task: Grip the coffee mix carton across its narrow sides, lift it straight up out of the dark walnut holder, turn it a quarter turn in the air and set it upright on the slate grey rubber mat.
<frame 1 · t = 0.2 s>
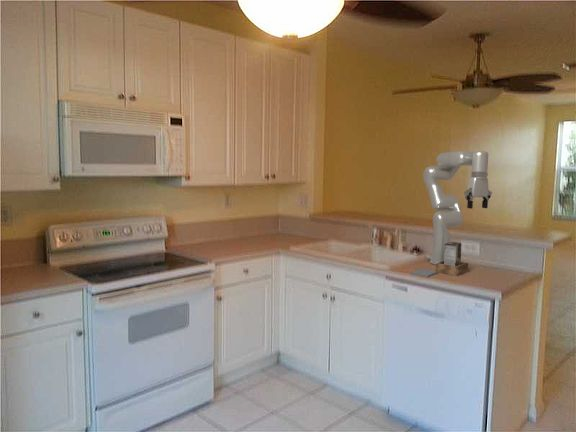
hand: (477, 208, 233), 36 cm above the worktop, tool pointing down, fingers open, 9 cm apart
coffee box: (451, 272, 246), resting in holder
holder: (451, 272, 246), on the worktop
mat: (424, 273, 241), on the worktop
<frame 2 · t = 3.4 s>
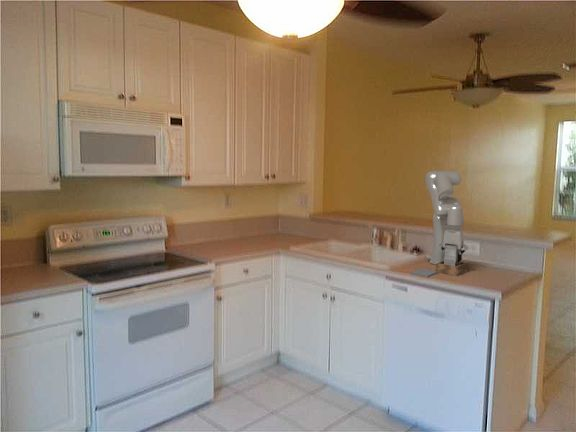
hand: (452, 260, 245), 7 cm above the worktop, tool pointing down, fingers closed on coffee box, 6 cm apart
coffee box: (451, 272, 246), resting in holder, touching gripper
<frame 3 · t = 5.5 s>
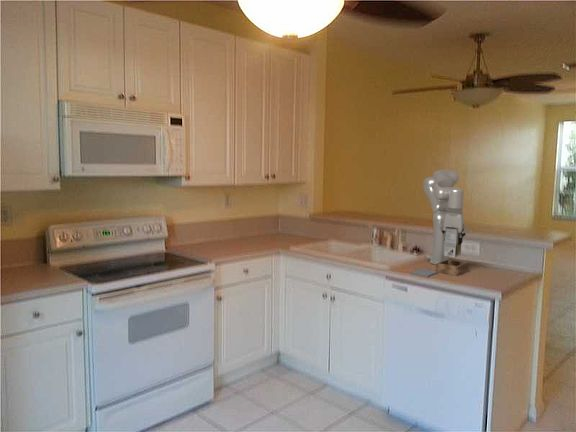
hand: (453, 243, 245), 16 cm above the worktop, tool pointing down, fingers closed on coffee box, 6 cm apart
coffee box: (452, 255, 246), point 9 cm above the worktop, touching gripper
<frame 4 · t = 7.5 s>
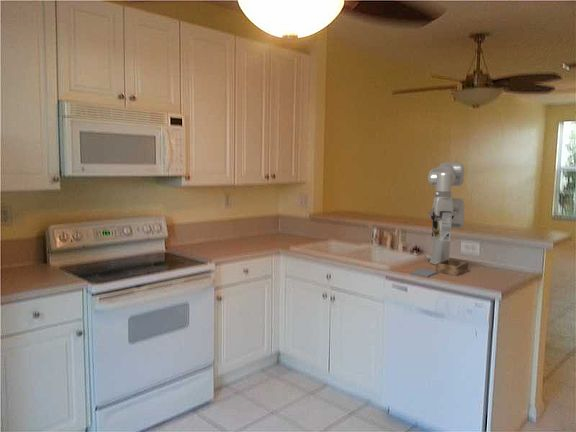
hand: (441, 227, 241), 25 cm above the worktop, tool pointing down, fingers closed on coffee box, 6 cm apart
coffee box: (440, 240, 241), point 18 cm above the worktop, touching gripper
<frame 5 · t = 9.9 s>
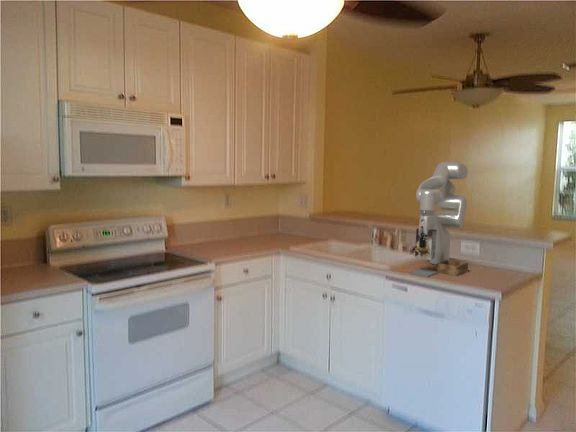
hand: (425, 246, 239), 15 cm above the worktop, tool pointing down, fingers closed on coffee box, 6 cm apart
coffee box: (424, 258, 240), point 8 cm above the worktop, touching gripper
when the fingers open (9 cm above the worktop, at t = 11.7 s): coffee box stays where it is, resting on mat.
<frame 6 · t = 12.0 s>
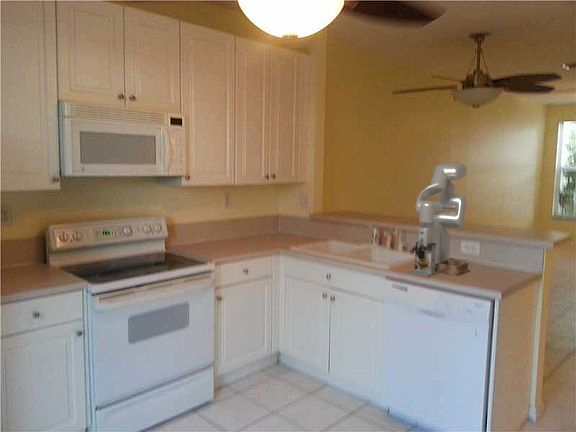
hand: (424, 256, 240), 9 cm above the worktop, tool pointing down, fingers open, 9 cm apart
coffee box: (424, 272, 241), point 1 cm above the worktop, touching mat
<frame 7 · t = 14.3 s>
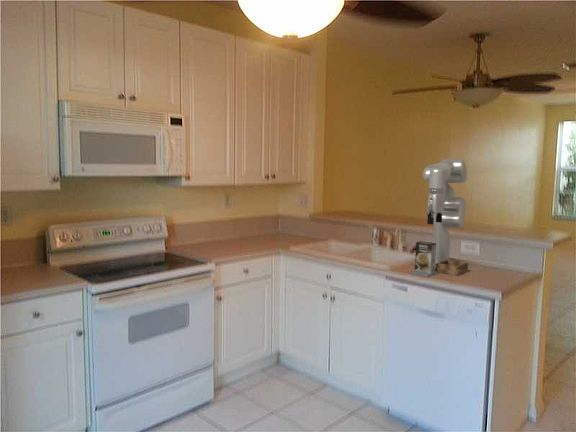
hand: (434, 223, 240), 27 cm above the worktop, tool pointing down, fingers open, 9 cm apart
nothing on the worktop moved.
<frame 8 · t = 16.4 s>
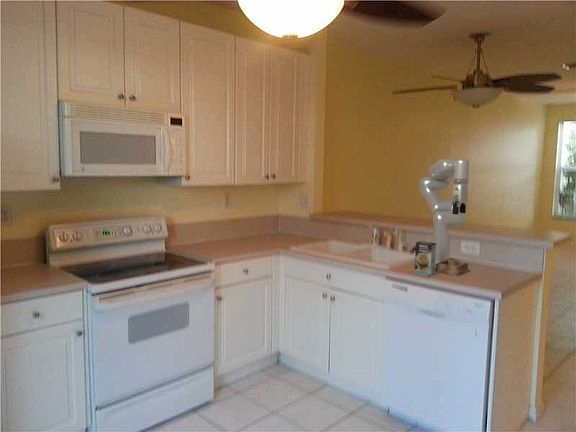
hand: (459, 213, 244), 32 cm above the worktop, tool pointing down, fingers open, 9 cm apart
nothing on the worktop moved.
at the end: coffee box 0.3 cm off-centre on the mat, point 0.8 cm above the mat's base; coffee box tilted 0°; the gripper is holding nothing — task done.
